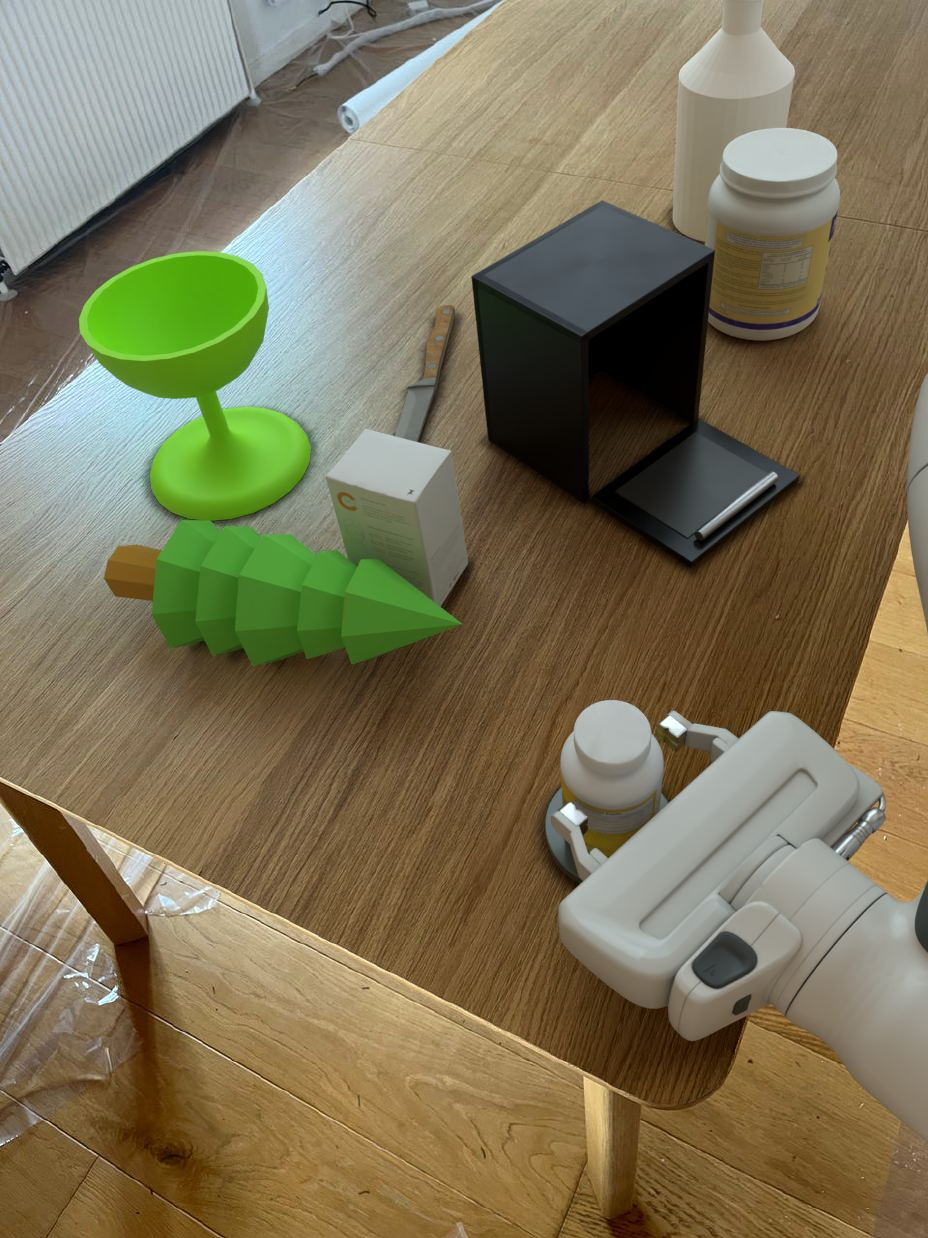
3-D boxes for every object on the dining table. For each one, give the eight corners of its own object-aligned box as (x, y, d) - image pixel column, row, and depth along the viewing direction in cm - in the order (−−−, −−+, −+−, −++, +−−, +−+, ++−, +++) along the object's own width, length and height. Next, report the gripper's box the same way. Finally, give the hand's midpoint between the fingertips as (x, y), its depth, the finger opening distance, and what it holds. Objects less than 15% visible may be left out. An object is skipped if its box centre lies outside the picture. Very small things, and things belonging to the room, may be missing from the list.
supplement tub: (839, 329, 104) (874, 168, 91) (726, 357, 103) (745, 198, 90) (786, 268, 112) (811, 111, 99) (680, 293, 111) (692, 138, 98)
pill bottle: (605, 765, 74) (607, 669, 65) (677, 820, 70) (689, 727, 61) (543, 825, 71) (536, 733, 62) (615, 885, 68) (618, 797, 59)
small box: (470, 563, 89) (454, 449, 79) (436, 616, 85) (415, 503, 75) (389, 539, 92) (364, 425, 82) (353, 588, 88) (323, 476, 78)
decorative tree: (105, 482, 81) (461, 528, 73) (176, 537, 92) (494, 582, 83) (58, 617, 79) (423, 681, 70) (138, 657, 89) (463, 717, 80)
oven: (803, 478, 91) (839, 304, 78) (686, 572, 86) (703, 403, 72) (601, 364, 104) (602, 199, 91) (488, 440, 99) (471, 275, 85)
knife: (427, 304, 112) (454, 304, 111) (429, 313, 113) (455, 313, 112) (371, 507, 93) (403, 507, 93) (373, 515, 94) (405, 516, 94)
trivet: (656, 765, 74) (657, 758, 73) (691, 879, 68) (692, 873, 68) (534, 787, 74) (533, 780, 73) (559, 903, 68) (558, 896, 68)
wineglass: (264, 534, 93) (207, 373, 80) (118, 503, 98) (40, 346, 84) (337, 423, 103) (298, 261, 89) (200, 399, 107) (142, 242, 93)
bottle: (765, 248, 115) (800, 4, 96) (660, 239, 118) (673, 2, 99) (781, 194, 122) (815, -44, 102) (681, 187, 125) (696, -45, 106)
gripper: (915, 776, 59) (725, 642, 66) (675, 1025, 51) (491, 844, 59) (891, 828, 64) (716, 699, 71) (668, 1062, 56) (498, 891, 63)
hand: (612, 766), depth 65 cm, fingers open, 8 cm apart
